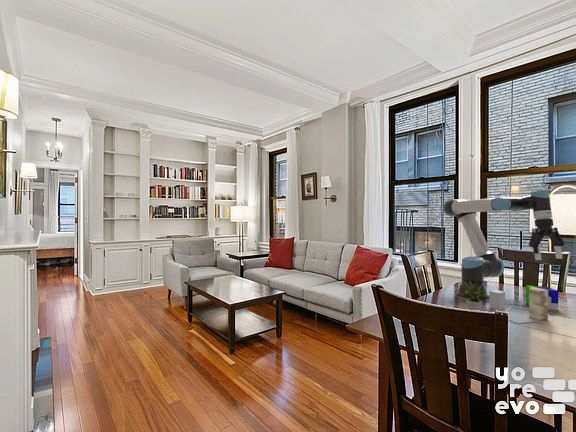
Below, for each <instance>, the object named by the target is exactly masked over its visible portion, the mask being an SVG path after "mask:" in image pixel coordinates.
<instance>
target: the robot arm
mask: <svg viewBox="0 0 576 432" xmlns="http://www.w3.org/2000/svg"><path fill="white" fill-rule="evenodd" d="M442 209H443V212H444V213H445V214H446V216H449V217H456V218H457V221H458V222H460V223H462V227H463V229H464V231H465V233H466V236H467V238H468V240H469V243H470V245H471V247H472V250H473V253H474V255H475V256H465V257H463V258H462V259H461V265H460V266H461V284H459V289H458V295H459V296H462V297H464V298H468V297H469V298H470V296H469V295H468V293H467V292H465V291H469V290H468V289H467V288H468V287H470V282H471V284H472V285H473V286H474V285H475V284H476V283H477V284H476V285H475V289H474V291H476V289H478V288H480V286H481V285H482V286H481V288H480V290H479V291H481V290H482V289H483V288H484V289H483V290H482V291H481V292H480V293H479V294H484V295H481V296H480V297H479V298H478V299H480V300H481V299H486V298H488V292H487V290H486V288H485V287H486V286H485V283H484V282H485V279H484V278H496V277H500V276H502V275H503V273H504V272H505V271H504V270H505V263H504V262H503V261H504V260H502V259H501V258H499V257H497V256H496V254H495V252H492V251H491V250H490V247H489V245H488V243H487V240H486V238H485V236H484V234H483V231H482V229H481V226H480V225H479V223H478V221H477V215H478V213H479V212H481V213H486V212H503V211H504V212H505V211H511V212H520V211H521V212H522V211H527V210H532V212H533V213H532V214H533V219H534V225H535V227H534V228H532V229H531V234H530V235H531V236H530V239H529V243H528V245H529V247H530V248H532V249H533V255H534V260H535V261H542V254H541V253H542V251H541V247H540V244H541V242H542V240H543V239H544V238H545V237H547V238H549V240H550V241H551V242H552V243H553V244H554V254H555V259H557V260H559V259H560V260H563V258H564V257H563V253H562V252H563V248H562V247H564V245H565V242H564V240H563V238H562V236H561V235H560V232H559V231H558V227H553V226H554V220H553V213H552V207H551V197H550V192H549V190H548V189H537V190H532V191H530V195H526V196H518V197H517V196H498V197H491V198H479V199H468V198H465V199H459V198H458V199H454V198H451V199H449V200H447V201H445V202H444V204H443V206H442ZM463 281H464V282H463ZM476 281H477V282H476ZM465 282H466V283H467V285H468V287H467V285H466V284H465ZM463 284H464V285H465V286H466V287H467V288H466V287H465V286H464V285H463ZM461 285H462V286H461ZM463 286H464V287H465V288H466V289H465V288H464V287H463ZM470 288H471V287H470ZM459 291H460V292H459ZM463 293H466V295H467V296H468V297H467V296H466V295H465V294H464V295H462V294H463ZM470 294H471V293H470ZM485 294H486V295H485ZM483 296H484V297H483ZM481 297H482V298H481Z"/></svg>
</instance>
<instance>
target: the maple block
mask: <svg viewBox="0 0 576 432" xmlns="http://www.w3.org/2000/svg"><path fill="white" fill-rule="evenodd" d="M528 317H529V318H531V319H534V320H537V321H547V320H549V309H548V290H545V289H541V288H529V305H528Z"/></svg>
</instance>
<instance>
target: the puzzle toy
mask: <svg viewBox="0 0 576 432" xmlns="http://www.w3.org/2000/svg"><path fill="white" fill-rule="evenodd" d="M529 288H541V289H545V290H548V310H554V311H555V310H556V311H558V310H559V290H557V289H554V288H552V287H549V286H547V285H546V286H543V285H525V304H526V305H528V306H529Z"/></svg>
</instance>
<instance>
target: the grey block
mask: <svg viewBox="0 0 576 432" xmlns="http://www.w3.org/2000/svg"><path fill="white" fill-rule="evenodd" d="M488 294H489V295H488V297H489V299H488V301H489V302H488V303H489V305H488V307H489V309H493V310H497V311H502V310H505V309H506V292H505V291H503V290H497V289H493V290H489V291H488Z"/></svg>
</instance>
